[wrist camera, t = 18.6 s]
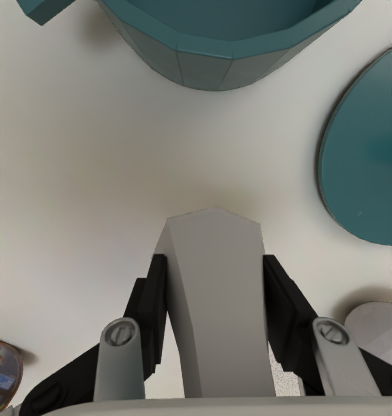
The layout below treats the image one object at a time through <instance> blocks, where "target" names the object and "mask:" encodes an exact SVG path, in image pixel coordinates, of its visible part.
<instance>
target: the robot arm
mask: <svg viewBox="0 0 392 416" xmlns="http://www.w3.org/2000/svg"><path fill="white" fill-rule="evenodd" d="M166 268H167V257H166V256H164V254H154V255H153V258H152V261H151V265H150V268H149V272H148V275H147V278H137V279H136V282H135V285H134V287H133V290H132V293H131V296H130V299H129V301H128V304H127V307H126V310H125V313H124V315H123V318H119V319H116V320H114V321H112V322H111V323H109V324H108V325H107V326H106V327H105V328H104V330H103V331H102V334H101V337H100V343H98V344H97V345H95V346H94V347H92V348H91V349H89V350H88V351H86V352H85V353H83V354H82V355H80V356H79V357H77V358H76V359H74V360H73V361H71V362H70V363H68V364H67V365H66V366H64V367H63V368H61V369H60V370H58V371H57V372H55V373H54V374H52V375H51V376H49V377H48V378H46V379H45V380H43V381H42V382H40V383H39V384H38V385H37V386H35V387H34V388H33V389H32V390H31V391H30V393H29V394H28V395H27V396H26V398H25V399H24V401H23V403H21V404H19V405H18V406H16V407H14V408H13V406H12V405H11V406H9V407H8V408H6V409H4V410H3V411H1V412H0V416H392V365H391V364H389V363H387V362H385V361H384V360H382V359H380V358H378V357H376V356H375V355H373V354H371V353H369V352H367V351H366V350H364V349H362V348H360V347H358V346H357V344H356V342H355V340H354V338H353V336H352V334H351V333H350V331H349V330H348V329H347V328H346V327H345V326H343V325H342V324H341V323H339V322H337V321H335V320H333V319H330V318H327V317H318V315H317V314H316V312H315V311H314V309H313V308H312V307H311V305H310V304H309V302H308V301H307V299H306V298H305V297H304V295H303V294H302V292H301V291H300V289H299V288H298V286H297V285H296V284H295V282H294V281H293V280H292V279H290V278H289V276H288V275H287V273H286V272H285V270H284V269H283V267H282V266H281V264H280V263H279V261H278V260H277V259H276V257H275V256H274V255H263V270H264V281H265V292H266V302H267V325H268V341H269V343H270V346H271V349H272V351H273V354H274V356H275V359H276V361H277V363H281V366H282V368H283V371H284V372H293V373H294V374H296V375H297V376H298V384H299V389H300V395H301V396H279V397H218V398H173V399H145V387H144V381H145V380H147V379H148V378H149V377H150V376H151V375H152V373H155V368H156V364H160V363H161V356H162V348H163V340H164V332H165V324H166V316H167V307H166V304H165V285H166Z"/></svg>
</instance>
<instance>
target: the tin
mask: <svg viewBox="0 0 392 416" xmlns="http://www.w3.org/2000/svg"><path fill="white" fill-rule="evenodd" d="M22 375H23V361H22V358H21V356H20V354H19V352H18V351H17V350H16V349H15V348H14V347H12V346H11V345H9V344H7V343H4V342H1V341H0V412H1V411H3V410H4V409H6V407H7V406H8V404H9V403H10V401H11V400H12V398H13V397H14V395H15V393H16V392H17V390H18V388H19V385H20V383H21V379H22Z"/></svg>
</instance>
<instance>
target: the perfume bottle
mask: <svg viewBox="0 0 392 416" xmlns="http://www.w3.org/2000/svg"><path fill="white" fill-rule="evenodd" d="M344 326H345V327H346V328H347V329H348V330H349V331H350V333H351V334H352V336H353V338H354V340H355V342H356V344H357V346H358V347H360V348H362V349H364V350H366V351H367V352H369V353H371V354H373V355H375V356H376V357H378V358H380V359H382V360H384V361H385V362H387V363H389V364H391V365H392V303H387V302H369V303H366V304H362V305H360V306H358V307H356V308H355V309H353V310H352V311H351V312H350V313H349V315H348V316H347V317H346V320H345V324H344Z"/></svg>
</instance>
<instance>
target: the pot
mask: <svg viewBox="0 0 392 416" xmlns="http://www.w3.org/2000/svg"><path fill="white" fill-rule="evenodd" d="M16 1H17V2H18V4H19V5H20V7H21V8H22V10H23V12H24V13H25V15H26V16H28V17H29V18H31V19H32V20H34V21H35V22H36V23H38V24H39V25H41V26H43V25H44V24H45V23H46V22H48V21H49V20H50V19H52V18H53V17H54V16H56V15H57V14H58V13H60V12H61V11H62V10H63V9H65V8H66V7H67V6H69V5H70V4H71V3H73V2H74V1H75V0H16ZM95 1H96V2H97V4H98V5H99V6H100V8H101V9H102V10H103V12H104V13H105V14H106V16H107V17H108V18H109V20H110V21H111V22H112V24H113V25H114V26H115V28H116V29H117V30H118V31H119V33H120V34H121V35H122V37H123V38H124V39H125V41H126V42H127V43H128V44H129V45H130V46H131V47H132V48H133V49H134V50H135V51H136V53H137V54H138V55H139V56H140V57H141V58H142V59H143V60H144V61H145V62H146V63H147V64H148V65H149V66H150V67H151V68H152V69H153V70H155V71H157V72H158V73H160V74H161V75H163V76H165V77H166V78H168V79H170V80H171V81H173V82H176V83H178V84H181V85H183V86H186V87H190V88H193V89H197V90H206V91H225V90H230V89H235V88H239V87H242V86H245V85H250V84H252V83H254V82H256V81H257V80H259V79H261V78H263V77H265V76H266V75H268V74H269V73H271V72H273V71H274V70H276V69H278V68H279V67H281V66H282V65H284V64H285V63H286V62H288V61H289V60H290V59H291V58H293V57H294V56H295V55H297V54H298V53H299V52H300V51H302V50H303V49H304V48H306V47H307V46H308V45H309V44H311V43H312V42H313V41H315V40H316V39H317V38H318V37H320V36H321V35H322V34H323V33H325V32H326V31H327V30H329V29H330V28H331V27H332V26H334V25H335V24H336V23H338V22H339V21H340V20H341V19H343V18H344V17H345V16H347V15H348V14H349V13H350V12H351V11H352V10H353V9H354V8H355V7H356V6H357V5H358V4H359V3H360V2H361V1H362V0H95Z"/></svg>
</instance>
